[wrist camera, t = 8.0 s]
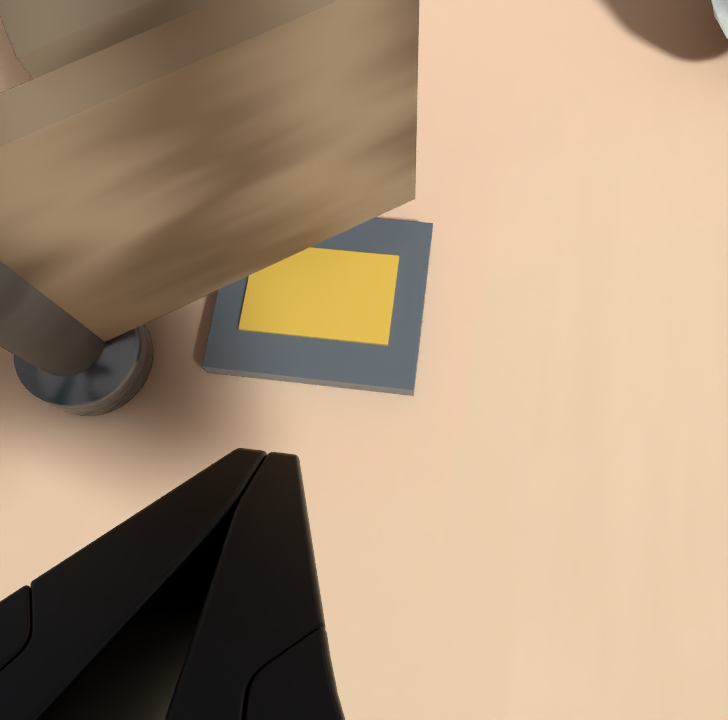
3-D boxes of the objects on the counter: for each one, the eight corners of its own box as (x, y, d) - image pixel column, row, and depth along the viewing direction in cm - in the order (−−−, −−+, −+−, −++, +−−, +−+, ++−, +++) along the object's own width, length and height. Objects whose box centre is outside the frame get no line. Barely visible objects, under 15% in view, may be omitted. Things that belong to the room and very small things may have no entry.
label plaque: (208, 372, 23) (200, 365, 22) (240, 215, 25) (234, 204, 24) (413, 395, 22) (413, 389, 22) (432, 232, 24) (433, 221, 23)
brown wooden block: (44, 389, 21) (-232, 247, 12) (-15, 216, 23) (-289, -17, 14) (423, 213, 22) (434, -40, 13) (335, 62, 24) (291, -248, 15)
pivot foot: (75, 439, 23) (51, 429, 21) (18, 350, 24) (-8, 335, 22) (174, 368, 23) (158, 353, 22) (115, 284, 24) (95, 264, 23)
